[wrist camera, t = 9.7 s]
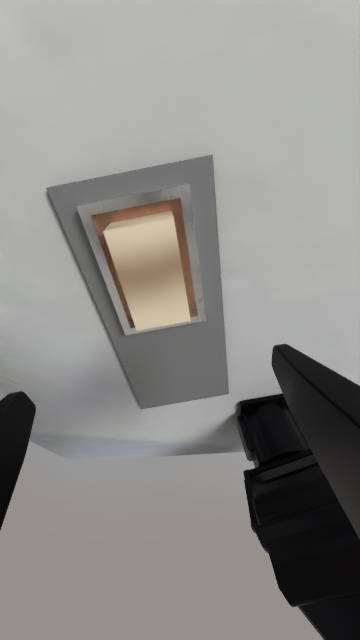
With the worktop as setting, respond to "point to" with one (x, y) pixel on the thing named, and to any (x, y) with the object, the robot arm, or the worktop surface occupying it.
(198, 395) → the mat
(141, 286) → the block
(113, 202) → the frame
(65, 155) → the worktop surface
